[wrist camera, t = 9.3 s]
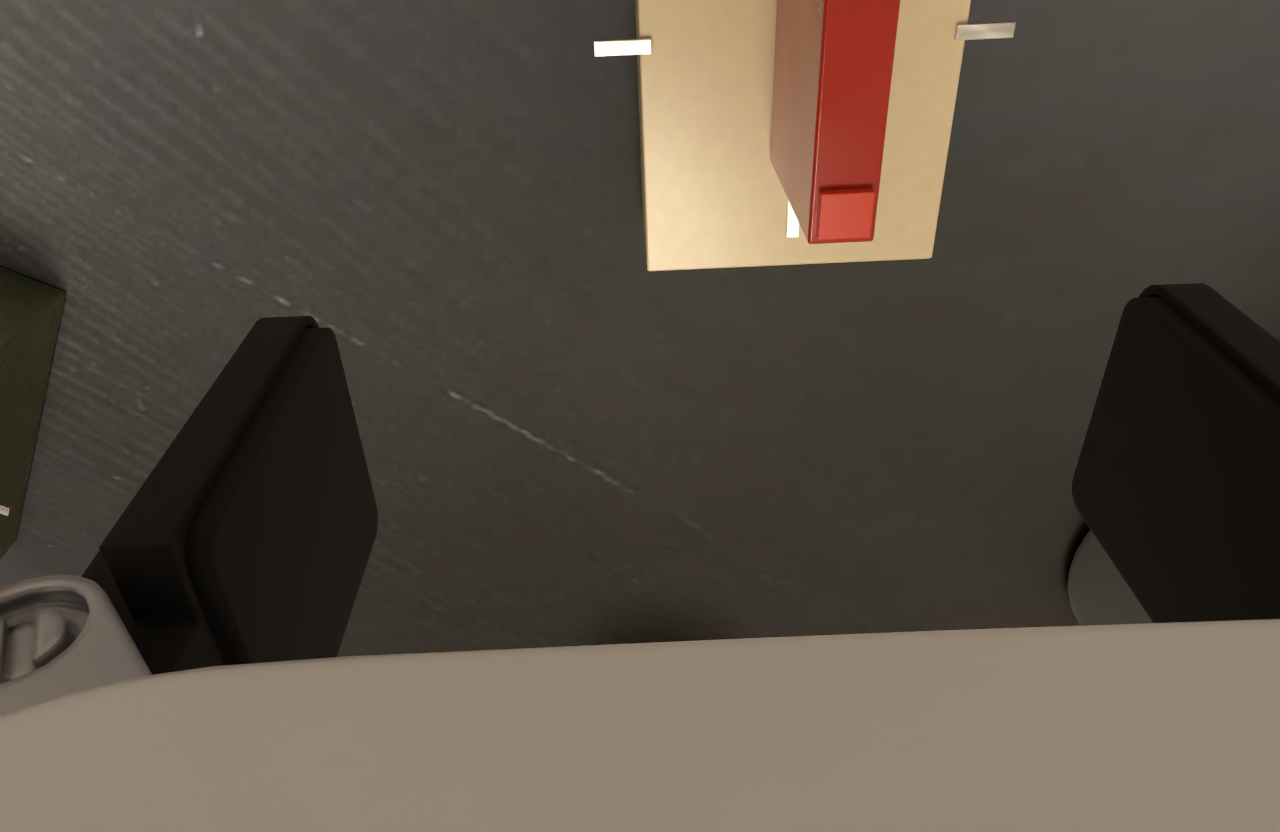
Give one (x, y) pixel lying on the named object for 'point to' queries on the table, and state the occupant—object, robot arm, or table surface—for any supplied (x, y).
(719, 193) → the tan slotted block stand
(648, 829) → the robot arm
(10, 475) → the green metallic block stand
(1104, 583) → the water bottle
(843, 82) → the glossy red slab
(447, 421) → the table surface
